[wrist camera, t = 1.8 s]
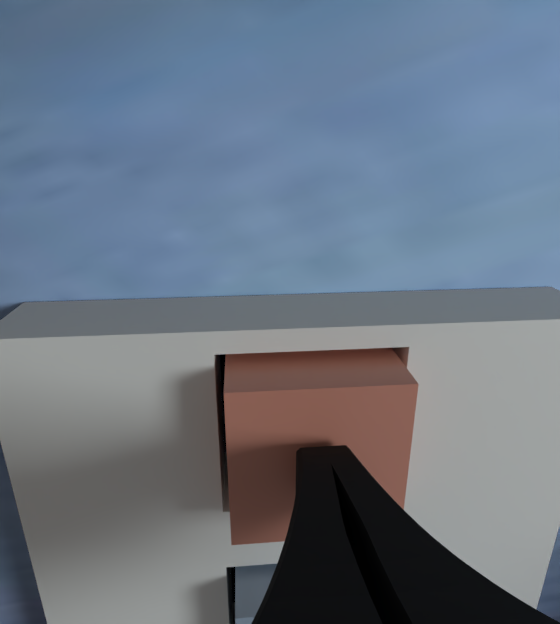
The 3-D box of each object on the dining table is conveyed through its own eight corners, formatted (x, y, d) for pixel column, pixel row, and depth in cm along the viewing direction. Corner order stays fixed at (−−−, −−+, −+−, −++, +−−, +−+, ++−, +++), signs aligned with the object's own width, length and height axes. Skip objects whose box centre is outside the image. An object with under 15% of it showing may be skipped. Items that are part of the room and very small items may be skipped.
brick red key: (373, 467, 16) (400, 532, 14) (232, 476, 16) (231, 545, 13) (384, 338, 15) (418, 383, 12) (226, 344, 14) (223, 393, 11)
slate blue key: (360, 624, 19) (380, 704, 16) (239, 635, 19) (240, 719, 16) (368, 532, 17) (392, 604, 15) (235, 542, 17) (235, 618, 14)
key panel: (485, 591, 22) (522, 659, 19) (91, 625, 20) (68, 703, 17) (551, 286, 16) (616, 317, 14) (23, 302, 15) (-27, 339, 12)
